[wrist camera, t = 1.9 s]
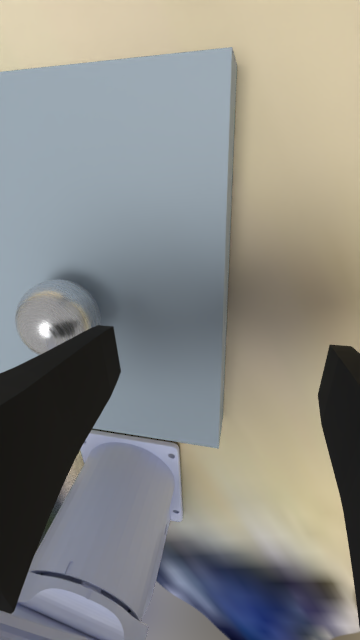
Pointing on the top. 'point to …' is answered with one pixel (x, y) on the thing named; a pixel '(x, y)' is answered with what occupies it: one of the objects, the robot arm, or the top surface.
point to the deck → (128, 222)
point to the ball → (54, 314)
